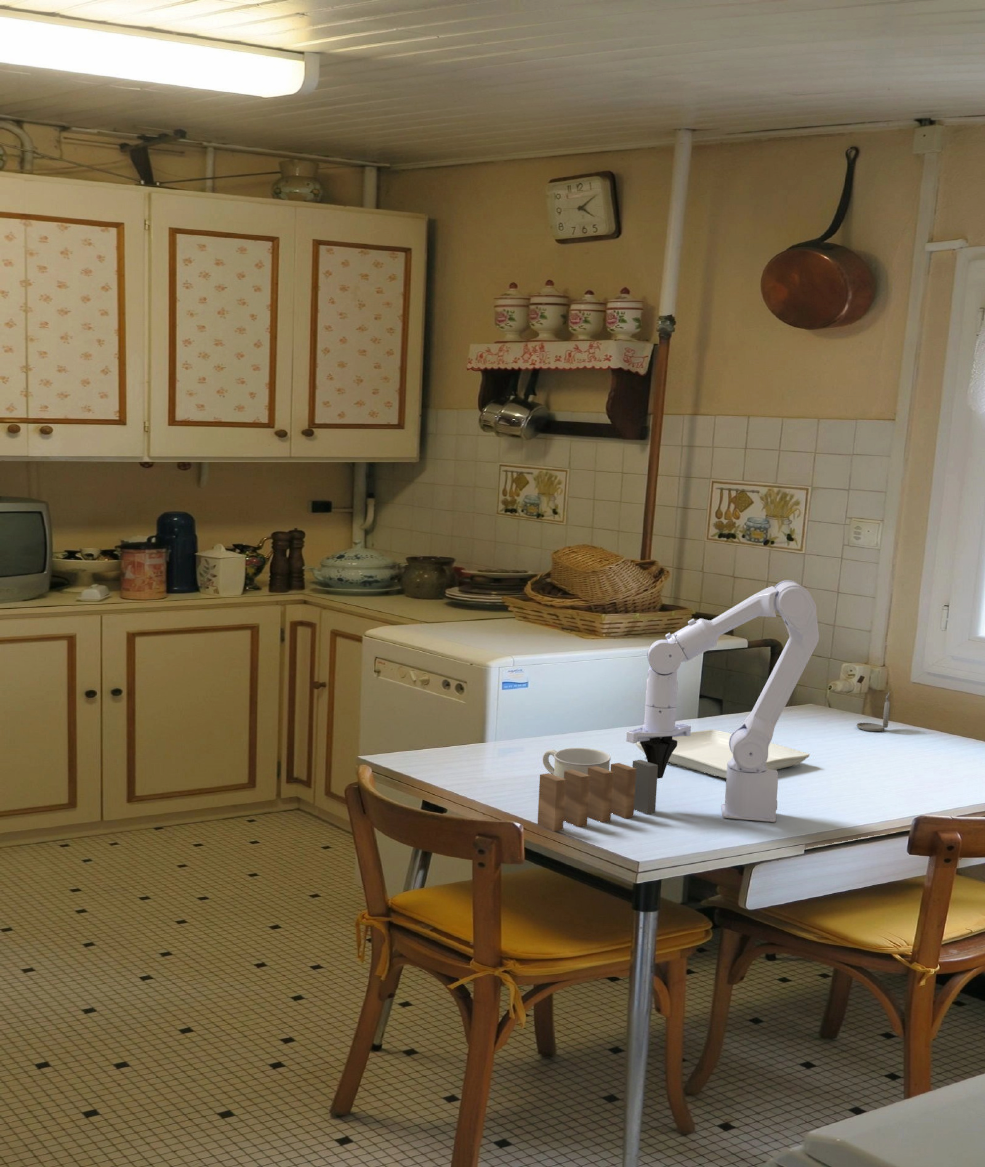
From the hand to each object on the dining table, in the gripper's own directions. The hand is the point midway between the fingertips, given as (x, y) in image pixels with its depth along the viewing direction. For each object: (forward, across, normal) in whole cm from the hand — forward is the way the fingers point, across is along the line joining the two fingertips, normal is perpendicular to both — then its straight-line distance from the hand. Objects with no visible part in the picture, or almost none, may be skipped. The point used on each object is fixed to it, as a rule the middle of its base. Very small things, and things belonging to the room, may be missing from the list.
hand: (656, 777), depth 235 cm
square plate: (+6, -38, -20) cm, 43 cm away
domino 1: (+6, +25, 0) cm, 26 cm away
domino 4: (+6, +8, 0) cm, 10 cm away
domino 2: (+6, +20, 0) cm, 20 cm away
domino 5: (+6, +3, 0) cm, 7 cm away
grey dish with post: (+6, -99, -25) cm, 102 cm away
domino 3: (+6, +14, 0) cm, 15 cm away
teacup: (+6, +7, -15) cm, 18 cm away
